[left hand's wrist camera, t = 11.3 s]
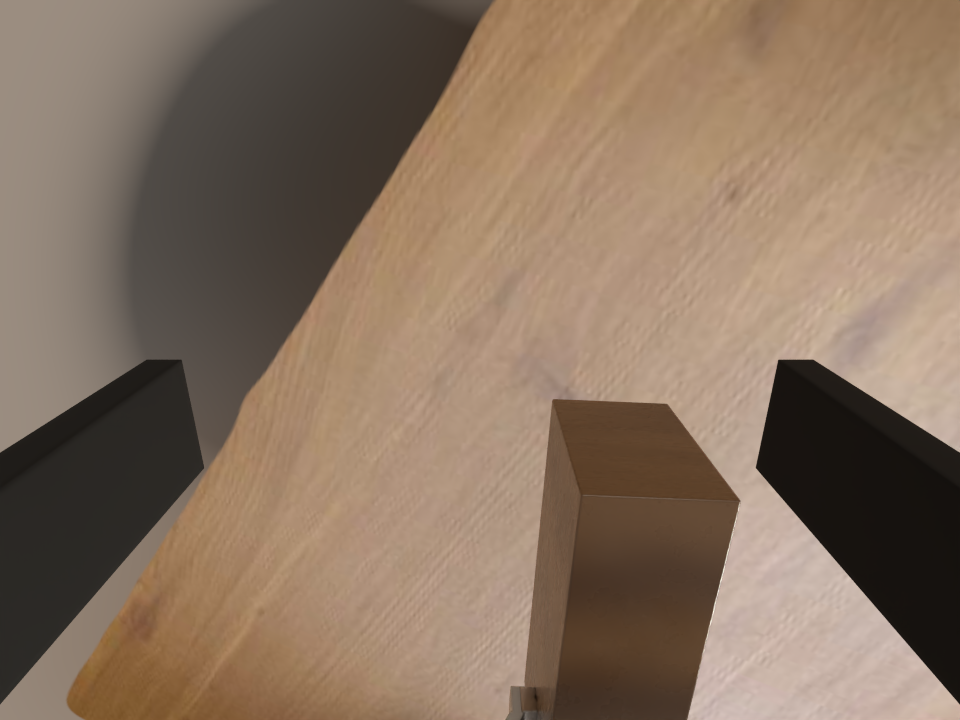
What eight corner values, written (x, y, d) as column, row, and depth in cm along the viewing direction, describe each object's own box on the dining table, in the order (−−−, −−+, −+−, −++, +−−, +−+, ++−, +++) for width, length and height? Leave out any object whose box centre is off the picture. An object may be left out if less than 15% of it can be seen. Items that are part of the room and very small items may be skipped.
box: (552, 398, 29) (581, 495, 21) (667, 403, 29) (742, 501, 21) (524, 681, 36) (537, 837, 28) (617, 684, 37) (658, 841, 28)
